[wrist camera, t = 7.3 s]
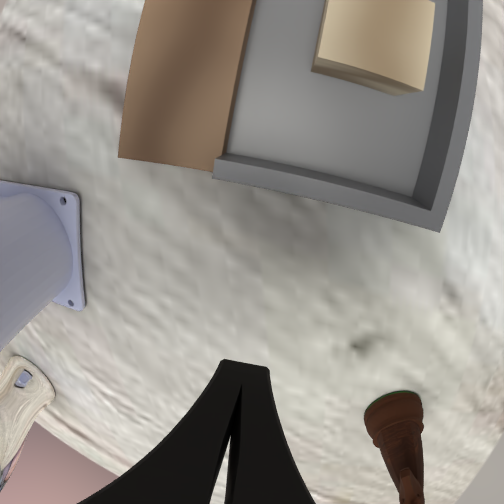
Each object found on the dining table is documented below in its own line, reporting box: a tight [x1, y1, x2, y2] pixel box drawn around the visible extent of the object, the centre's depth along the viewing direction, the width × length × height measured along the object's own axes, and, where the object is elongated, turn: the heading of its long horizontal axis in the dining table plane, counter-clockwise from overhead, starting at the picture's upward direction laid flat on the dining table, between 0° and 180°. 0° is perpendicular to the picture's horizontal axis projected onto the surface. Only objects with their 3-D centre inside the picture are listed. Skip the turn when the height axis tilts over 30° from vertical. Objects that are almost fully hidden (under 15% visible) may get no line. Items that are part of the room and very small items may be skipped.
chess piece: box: [364, 391, 425, 504], centre depth 16 cm, size 5×5×10 cm
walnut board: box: [118, 0, 257, 172], centre depth 11 cm, size 5×15×1 cm, turn 170°
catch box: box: [212, 0, 483, 233], centre depth 11 cm, size 10×15×3 cm, turn 170°
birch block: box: [311, 0, 435, 96], centre depth 10 cm, size 4×4×4 cm
